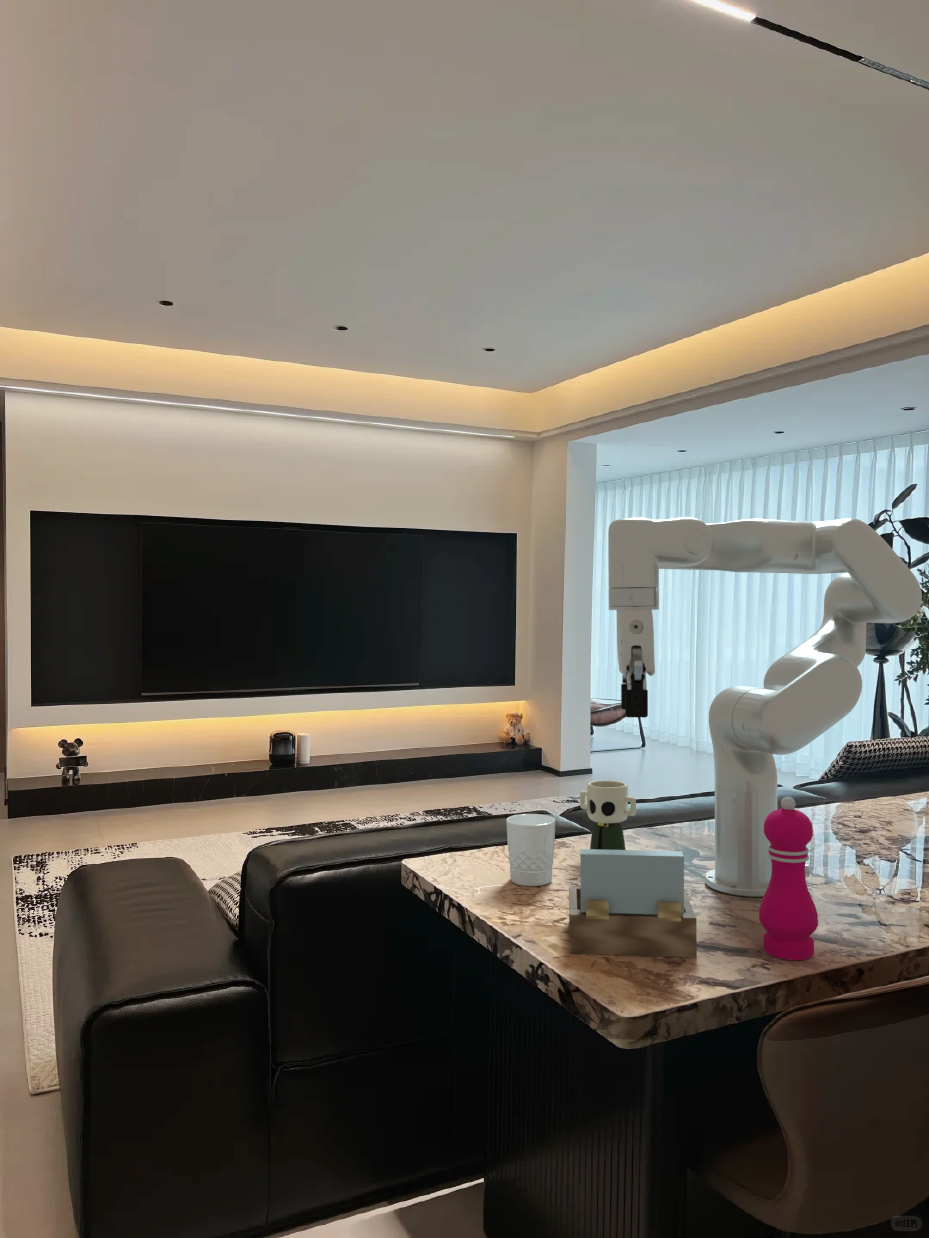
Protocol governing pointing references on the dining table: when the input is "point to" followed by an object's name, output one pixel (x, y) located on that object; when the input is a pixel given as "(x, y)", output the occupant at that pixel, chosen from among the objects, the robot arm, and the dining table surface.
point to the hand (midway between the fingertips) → (634, 713)
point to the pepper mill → (788, 886)
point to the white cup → (531, 848)
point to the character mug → (607, 812)
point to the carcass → (631, 929)
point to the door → (632, 879)
